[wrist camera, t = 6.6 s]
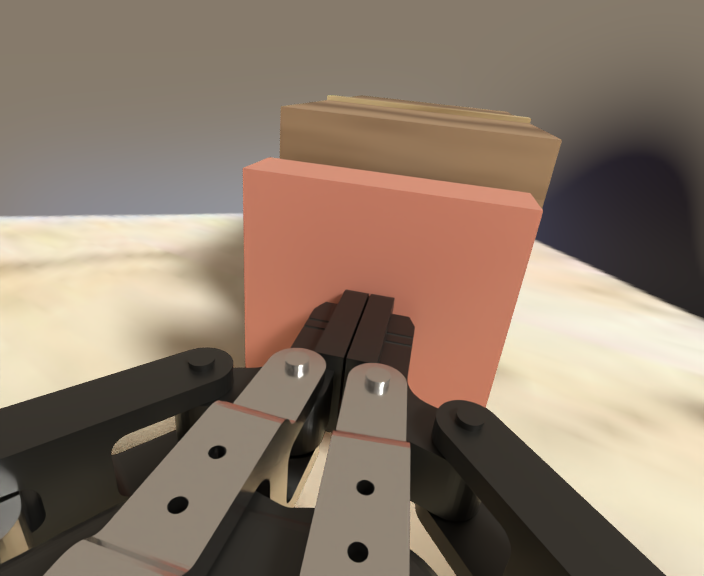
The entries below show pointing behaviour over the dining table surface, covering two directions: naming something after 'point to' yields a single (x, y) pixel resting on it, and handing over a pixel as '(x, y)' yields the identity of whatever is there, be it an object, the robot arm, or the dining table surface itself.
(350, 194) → the salmon square plate
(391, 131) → the block
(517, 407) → the dining table surface
